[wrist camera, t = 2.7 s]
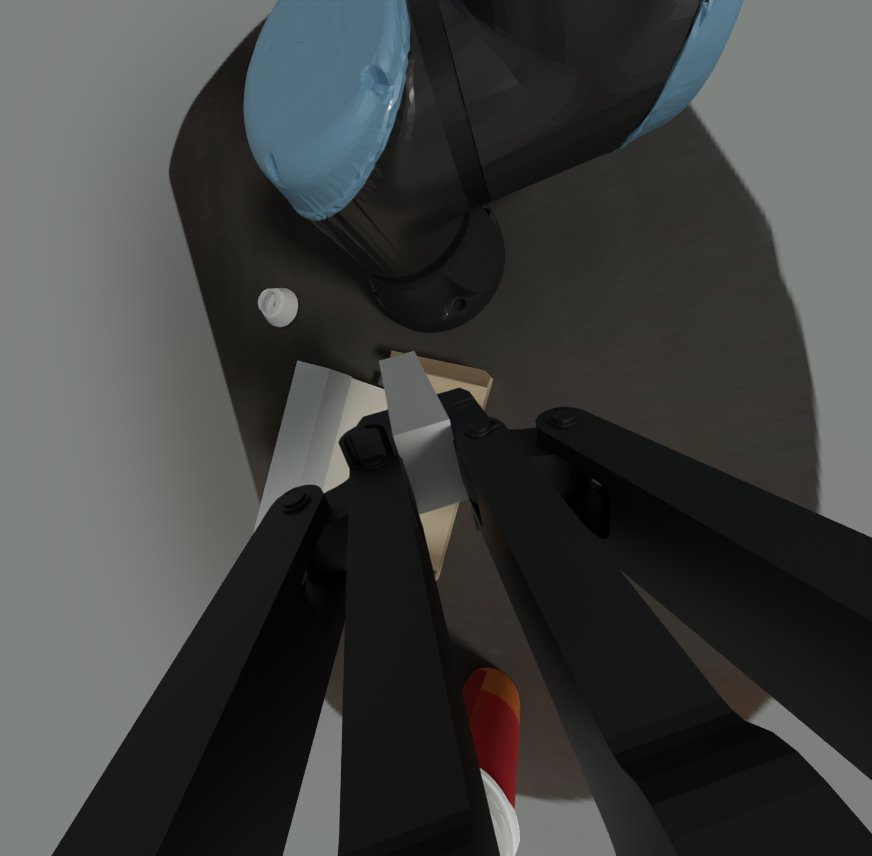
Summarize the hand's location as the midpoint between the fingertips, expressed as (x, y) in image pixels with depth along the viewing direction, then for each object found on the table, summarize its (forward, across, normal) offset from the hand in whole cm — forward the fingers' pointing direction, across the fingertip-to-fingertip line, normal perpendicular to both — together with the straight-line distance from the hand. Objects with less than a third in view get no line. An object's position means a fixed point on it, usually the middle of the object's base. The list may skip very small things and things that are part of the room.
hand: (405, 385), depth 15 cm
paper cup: (+4, 0, -36) cm, 36 cm away
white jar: (+38, -12, 0) cm, 40 cm away
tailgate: (+21, -5, -15) cm, 26 cm away
